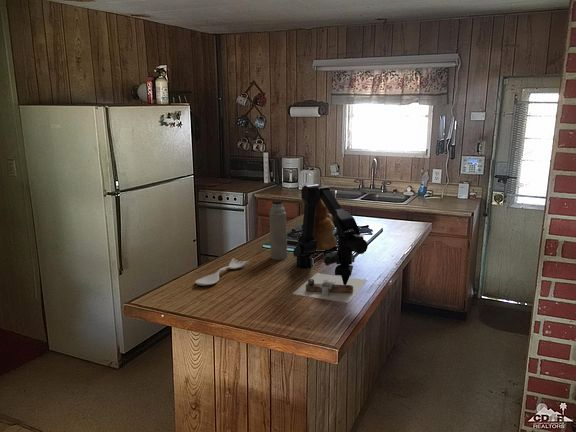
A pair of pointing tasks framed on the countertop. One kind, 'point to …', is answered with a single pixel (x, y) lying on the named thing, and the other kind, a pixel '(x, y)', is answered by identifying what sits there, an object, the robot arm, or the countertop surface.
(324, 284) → the block
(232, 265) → the spoon
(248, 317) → the countertop surface
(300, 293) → the base board
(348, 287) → the link
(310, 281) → the pintle pin
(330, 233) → the ceramic vessel
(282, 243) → the thermos bottle
